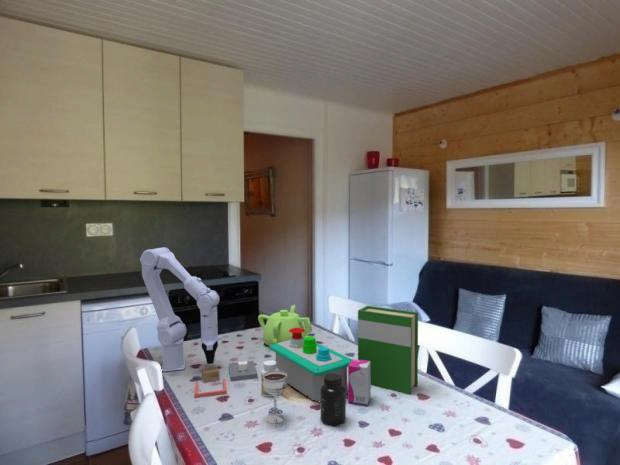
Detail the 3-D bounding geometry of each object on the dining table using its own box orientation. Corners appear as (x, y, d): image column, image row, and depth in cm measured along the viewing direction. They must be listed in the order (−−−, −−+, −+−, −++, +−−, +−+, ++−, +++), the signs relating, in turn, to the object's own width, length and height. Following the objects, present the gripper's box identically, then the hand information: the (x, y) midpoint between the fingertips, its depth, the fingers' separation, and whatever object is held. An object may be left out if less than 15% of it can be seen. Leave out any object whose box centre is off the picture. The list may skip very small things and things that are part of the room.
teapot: (272, 354, 154) (271, 318, 154) (256, 339, 172) (255, 307, 172) (314, 346, 163) (313, 312, 162) (294, 333, 181) (294, 302, 180)
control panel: (318, 352, 110) (266, 327, 135) (318, 409, 111) (267, 374, 136) (357, 342, 119) (303, 320, 144) (357, 394, 120) (303, 363, 145)
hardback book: (417, 385, 126) (418, 312, 124) (410, 394, 119) (410, 317, 118) (367, 373, 135) (367, 305, 134) (358, 381, 129) (357, 310, 127)
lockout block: (201, 377, 134) (201, 367, 133) (216, 375, 135) (216, 365, 135) (203, 383, 129) (203, 373, 129) (219, 380, 131) (218, 370, 131)
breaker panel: (228, 367, 142) (228, 363, 141) (253, 364, 144) (253, 360, 144) (230, 381, 130) (230, 376, 130) (257, 378, 132) (257, 373, 132)
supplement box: (371, 397, 118) (371, 360, 117) (367, 406, 112) (367, 368, 112) (352, 394, 120) (352, 358, 119) (347, 403, 114) (347, 365, 114)
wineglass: (258, 417, 107) (257, 374, 106) (278, 409, 111) (277, 368, 111) (272, 427, 102) (271, 383, 101) (292, 418, 106) (292, 375, 106)
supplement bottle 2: (316, 416, 107) (316, 374, 107) (338, 411, 110) (338, 369, 109) (327, 429, 101) (327, 384, 100) (350, 423, 104) (350, 379, 103)
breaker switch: (238, 368, 136) (238, 362, 136) (246, 367, 137) (246, 361, 137) (238, 370, 134) (238, 364, 134) (247, 370, 134) (247, 363, 134)
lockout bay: (195, 384, 127) (195, 381, 127) (225, 381, 130) (225, 378, 130) (194, 397, 119) (194, 394, 119) (226, 393, 121) (226, 390, 121)
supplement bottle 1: (276, 397, 118) (275, 366, 118) (259, 396, 119) (258, 365, 119) (281, 389, 123) (280, 359, 123) (264, 388, 125) (264, 358, 124)
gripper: (221, 330, 132) (222, 369, 133) (220, 319, 146) (221, 354, 147) (200, 332, 131) (201, 372, 131) (200, 321, 145) (201, 356, 145)
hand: (210, 363), depth 139 cm, fingers closed
